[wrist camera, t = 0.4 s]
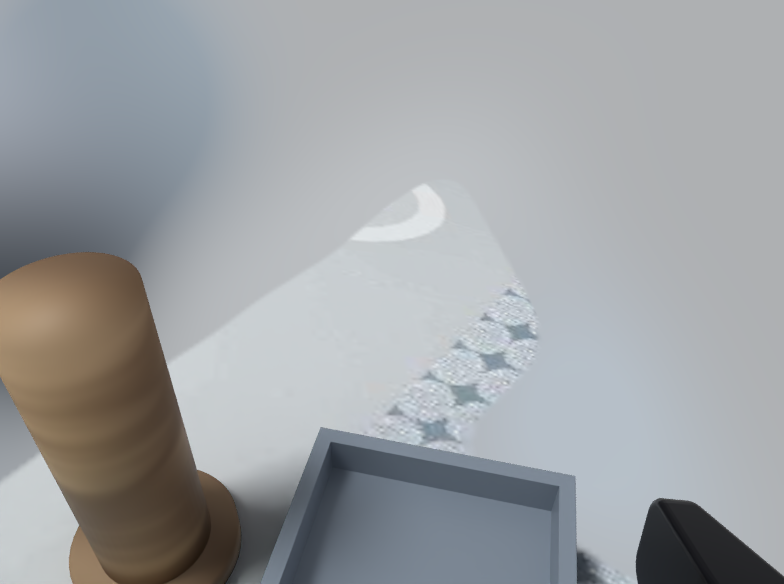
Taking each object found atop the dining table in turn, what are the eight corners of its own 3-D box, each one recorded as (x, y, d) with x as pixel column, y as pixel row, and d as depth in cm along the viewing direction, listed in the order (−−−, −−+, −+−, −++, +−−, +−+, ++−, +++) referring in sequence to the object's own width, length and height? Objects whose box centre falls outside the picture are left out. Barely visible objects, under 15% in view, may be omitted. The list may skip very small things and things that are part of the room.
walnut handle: (199, 649, 21) (99, 404, 13) (41, 609, 22) (-138, 357, 14) (264, 497, 26) (218, 248, 18) (131, 469, 27) (33, 220, 19)
